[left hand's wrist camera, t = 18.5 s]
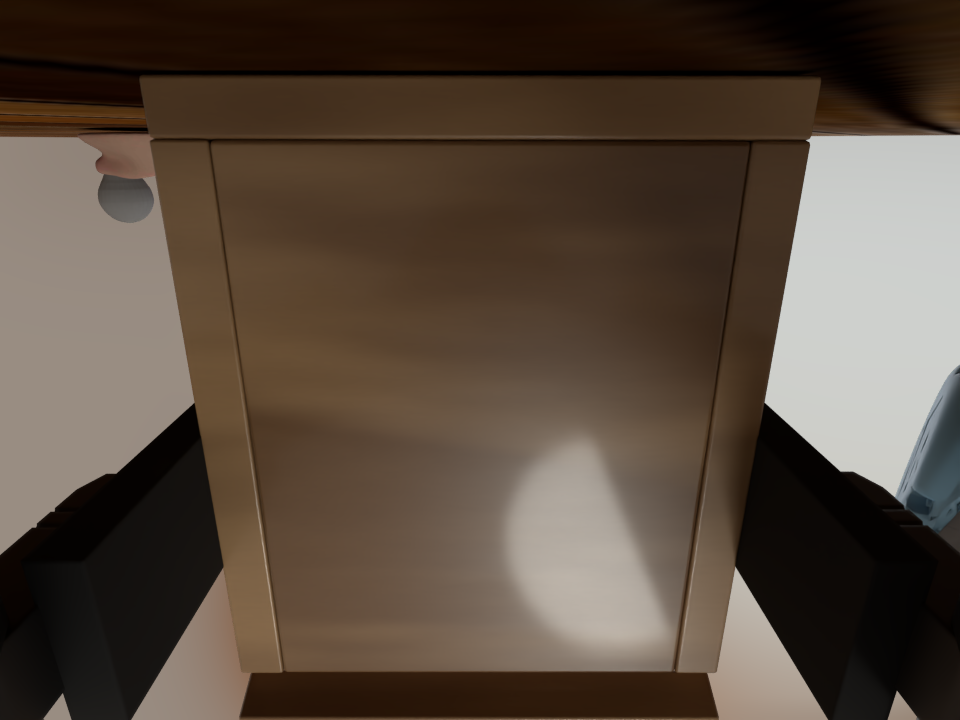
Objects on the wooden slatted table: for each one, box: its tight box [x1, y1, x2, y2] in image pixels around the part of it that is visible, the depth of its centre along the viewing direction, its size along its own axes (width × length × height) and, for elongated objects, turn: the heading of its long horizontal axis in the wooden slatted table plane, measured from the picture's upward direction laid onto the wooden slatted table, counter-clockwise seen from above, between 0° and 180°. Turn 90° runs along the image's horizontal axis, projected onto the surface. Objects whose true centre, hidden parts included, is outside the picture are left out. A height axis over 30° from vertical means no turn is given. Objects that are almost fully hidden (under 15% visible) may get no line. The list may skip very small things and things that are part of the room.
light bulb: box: [98, 174, 154, 223], centre depth 73 cm, size 6×6×10 cm
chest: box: [139, 74, 821, 673], centre depth 18 cm, size 16×10×11 cm, turn 0°
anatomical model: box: [78, 132, 155, 179], centre depth 43 cm, size 13×4×12 cm
